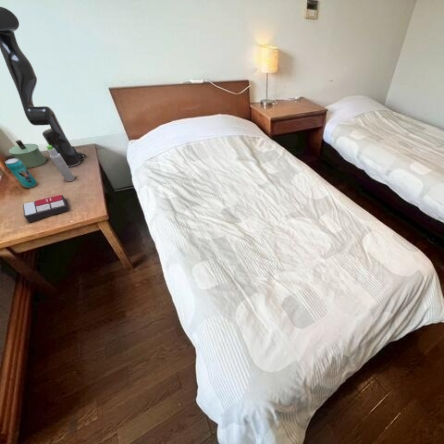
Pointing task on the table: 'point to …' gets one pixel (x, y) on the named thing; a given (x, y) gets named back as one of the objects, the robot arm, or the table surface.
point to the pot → (31, 158)
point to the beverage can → (21, 172)
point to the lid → (23, 148)
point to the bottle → (60, 164)
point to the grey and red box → (45, 208)
